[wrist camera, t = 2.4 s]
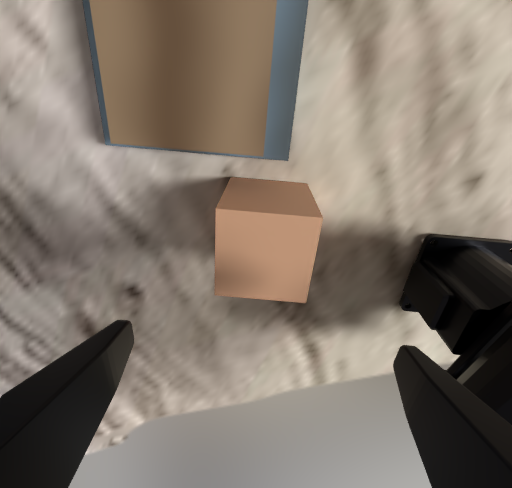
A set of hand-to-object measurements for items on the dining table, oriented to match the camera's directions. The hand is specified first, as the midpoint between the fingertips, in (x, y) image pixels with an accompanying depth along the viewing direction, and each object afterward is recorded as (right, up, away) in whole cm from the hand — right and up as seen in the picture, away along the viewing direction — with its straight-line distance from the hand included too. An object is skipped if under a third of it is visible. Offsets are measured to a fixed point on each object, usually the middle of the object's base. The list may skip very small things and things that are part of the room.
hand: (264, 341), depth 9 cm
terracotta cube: (0, +5, +10) cm, 11 cm away
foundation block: (-3, +14, +6) cm, 15 cm away
